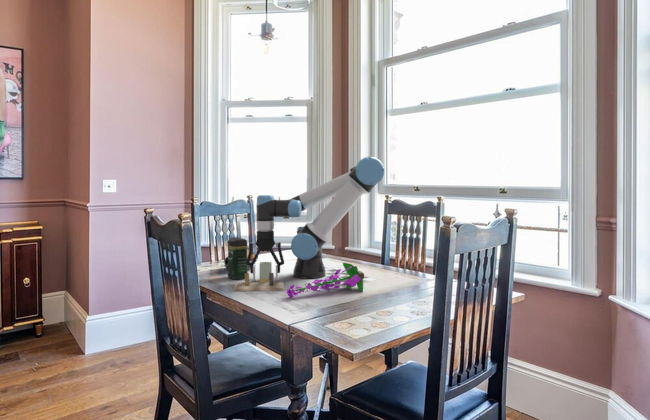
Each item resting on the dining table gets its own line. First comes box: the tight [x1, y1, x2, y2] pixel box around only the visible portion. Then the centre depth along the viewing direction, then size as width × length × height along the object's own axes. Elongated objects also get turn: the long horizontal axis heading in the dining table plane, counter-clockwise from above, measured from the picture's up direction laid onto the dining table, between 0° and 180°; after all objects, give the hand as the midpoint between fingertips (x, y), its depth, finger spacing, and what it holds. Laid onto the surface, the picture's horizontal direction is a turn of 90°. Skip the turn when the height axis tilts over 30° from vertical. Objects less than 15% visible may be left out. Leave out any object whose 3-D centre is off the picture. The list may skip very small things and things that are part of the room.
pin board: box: [232, 272, 284, 292], centre depth 176 cm, size 20×10×6 cm, turn 95°
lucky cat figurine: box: [224, 248, 259, 270], centre depth 210 cm, size 15×12×14 cm
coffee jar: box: [227, 236, 249, 280], centre depth 194 cm, size 10×8×19 cm
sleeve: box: [259, 261, 273, 282], centre depth 188 cm, size 5×5×8 cm
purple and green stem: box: [285, 262, 365, 299], centre depth 168 cm, size 12×16×35 cm
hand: (265, 280), depth 188 cm, fingers open, 9 cm apart
